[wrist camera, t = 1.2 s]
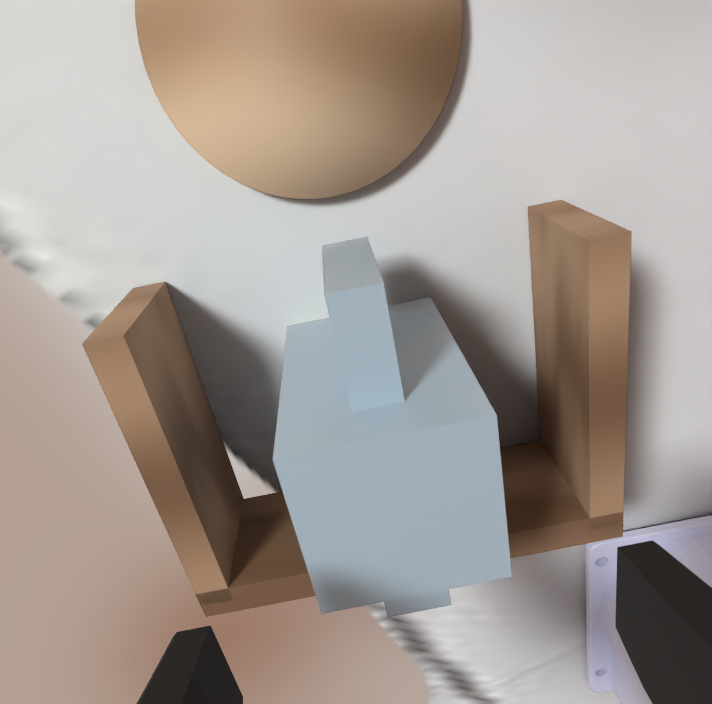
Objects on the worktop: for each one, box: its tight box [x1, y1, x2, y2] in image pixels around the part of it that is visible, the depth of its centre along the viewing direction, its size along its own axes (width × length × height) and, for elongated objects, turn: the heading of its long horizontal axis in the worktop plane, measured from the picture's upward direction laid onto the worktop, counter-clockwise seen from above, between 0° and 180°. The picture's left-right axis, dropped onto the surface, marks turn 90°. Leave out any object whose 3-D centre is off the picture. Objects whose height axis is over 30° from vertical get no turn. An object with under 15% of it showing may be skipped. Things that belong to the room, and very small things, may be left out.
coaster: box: [135, 0, 462, 199], centre depth 14 cm, size 8×8×1 cm
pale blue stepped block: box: [273, 237, 512, 617], centre depth 15 cm, size 8×5×7 cm, turn 11°
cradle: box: [82, 200, 631, 617], centre depth 17 cm, size 10×13×4 cm
